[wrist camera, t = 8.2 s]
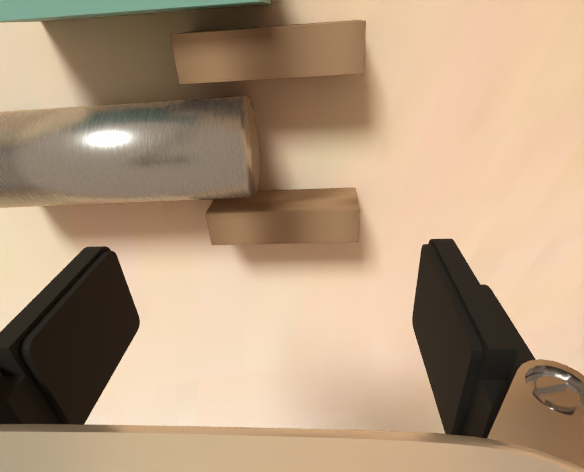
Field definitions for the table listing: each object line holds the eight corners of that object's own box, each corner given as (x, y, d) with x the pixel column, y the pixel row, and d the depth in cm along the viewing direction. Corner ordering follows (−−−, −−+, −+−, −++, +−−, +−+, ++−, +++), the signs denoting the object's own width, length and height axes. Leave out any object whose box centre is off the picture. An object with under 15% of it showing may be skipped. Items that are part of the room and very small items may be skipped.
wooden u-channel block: (359, 20, 21) (365, 20, 18) (354, 217, 28) (358, 241, 25) (189, 32, 22) (169, 34, 19) (223, 220, 29) (212, 244, 26)
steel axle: (251, 84, 24) (234, 114, 19) (262, 171, 27) (250, 215, 22) (-12, 102, 25) (-92, 133, 20) (30, 182, 29) (-30, 226, 24)
